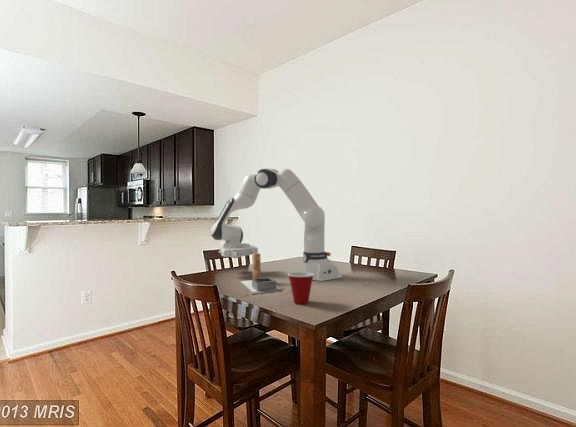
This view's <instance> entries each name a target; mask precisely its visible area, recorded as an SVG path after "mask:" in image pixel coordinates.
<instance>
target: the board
mask: <svg viewBox="0 0 576 427" xmlns="http://www.w3.org/2000/svg"><path fill="white" fill-rule="evenodd" d="M240 282H241V283H242V284H243V286H244V287H246V288H247V289H248V290H249V291H250V292H251V294H252V295H251V296H258V294H260V295H266V293H268V294H274V293H275V292H277V293H282V292H283V291H282V290H283V289H282V287H280V286H279V285H277V281H276V280H275V279H274V278H272V277H270V276H267V277H261V278H258V279H253V278H252V279H250V280H241V281H240ZM281 289H282V290H281ZM274 290H275V291H274ZM267 291H268V292H267ZM256 292H257V293H256Z"/></svg>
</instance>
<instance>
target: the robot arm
mask: <svg viewBox="0 0 576 427" xmlns="http://www.w3.org/2000/svg"><path fill="white" fill-rule="evenodd" d="M276 187H279V188H280V189H281V190H282V192H283V193H284V195H285V196H286V197H287V199H288V200H289V201H290V203H292V205H293V207H294V209H295V211H296V212H297V213H298V214H299V217H300V219H301V220H302V221H303V223H304V234H303V252H302V253H303V257H302V258H303V268H302V273H313V274H314V276H313V279H312V281H318V282H323V281H330V280H336V279H342V278H343V277H344V276H343V274H342V273H339V268H338V265H337V264H336V263H335V262H333V261H332V260H331V259H330V258H328V257H331V256H332V254H331V252H327V251H325V226H326V225H325V224H326V222H325V221H326V219H325V216H326V215H325V211H324V210H323V208H322V207H320V206H319V205H318V203H317V202H316V200H315V199H314V197H313V196H312V194H311V193H310V192H309V190H308V189H307V188H306V186H305V185H304V184H303V181H301V180H300V178H299V177H298V176H297V175H296V173H294V172H293V171H292V170H291V169H290V168H283V169H282V170H280V171H278V170H276V169H274V168H261V169H259V170H257V171H256V172H255V174H252V173H249V174H247V175H245V177H244V178H243V180H242V181H241V184H240V186H239V189H238V191H237V193H236V194H235V195H234V196H233V197H230V198H229V199H228V200H227V202H226V203H225V205H224V206H223V208H222V210H221V212H220V214H219V216H218V217H217V219H216V220H215V222H214V223H213V225H212V226H211V228H210V236H211V237H212V239H214V240H215V241H221V242H220V244H219V250H218V254H221V256H222V257H224V258H226V257H228V258H229V257H230V258H232V259H240V258H242V257H245V256H252V254H255V253H259V249H258V247H257V246H256V245H255V246H254V245H252V244H250V243H242V242H243V240H244V232H243V229H242V228H241V226H237V225H232V224H229V223H228V224H226V223H227V221H228V219H229V217H230V215H231V214H232V213H233V212H234V211H237V210H244V209H249V208H250V207H252V206H254V204H255V202H256V200H257V199H258V196H259V193H260V192H261V189H270V190H271V189H274V188H276Z"/></svg>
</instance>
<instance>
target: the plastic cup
mask: <svg viewBox="0 0 576 427" xmlns="http://www.w3.org/2000/svg"><path fill="white" fill-rule="evenodd" d="M287 276H288V277H289V278H288V280H289V282H290V288H291V292H292V293H291V295H292V298H293V299H292V300H293V302H294V304H295V305H307V304H308V303H309V301H310V295H311V288H312V282H313V280H312V279H313V276H314V274H313V273H303V271H302V272H289V273H287Z"/></svg>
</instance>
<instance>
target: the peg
mask: <svg viewBox="0 0 576 427" xmlns="http://www.w3.org/2000/svg"><path fill="white" fill-rule="evenodd" d="M251 258H252V259H251V260H252V262H251V263H252V264H251V265H252V266H251V269H252V279H258V278H262V277H261V274H262V273H261V270H262V269H261V265H262V264H261V253H259V252H258V253H255V254H252V255H251Z"/></svg>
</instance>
